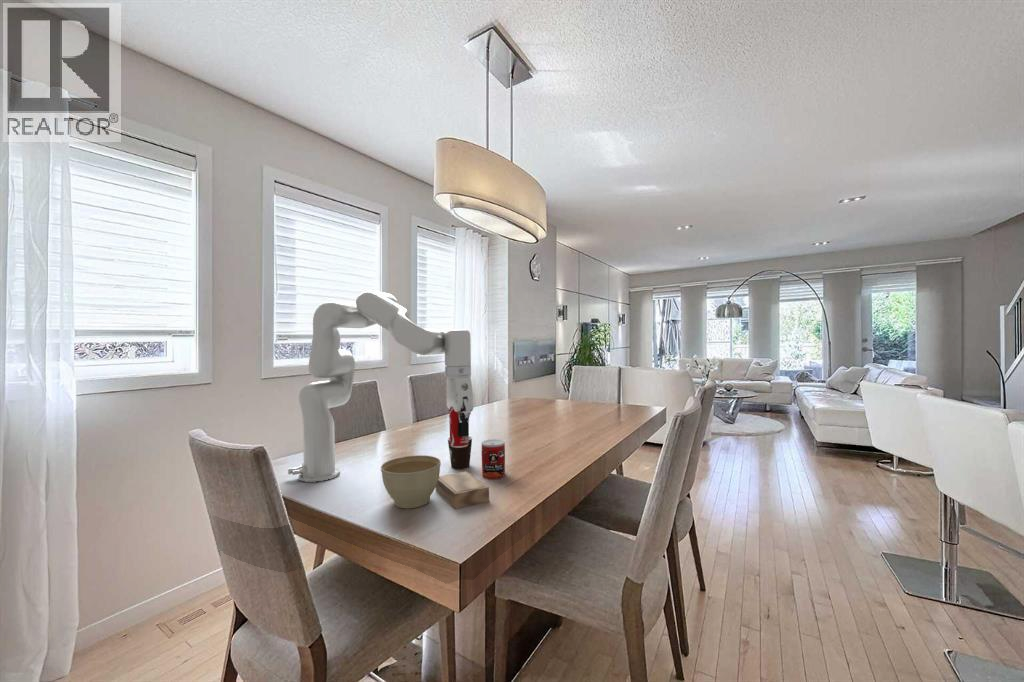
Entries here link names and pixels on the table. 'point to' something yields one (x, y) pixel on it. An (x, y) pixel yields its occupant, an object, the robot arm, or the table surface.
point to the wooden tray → (462, 489)
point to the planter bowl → (411, 479)
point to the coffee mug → (460, 455)
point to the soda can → (456, 430)
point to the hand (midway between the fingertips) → (459, 433)
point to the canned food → (493, 458)
